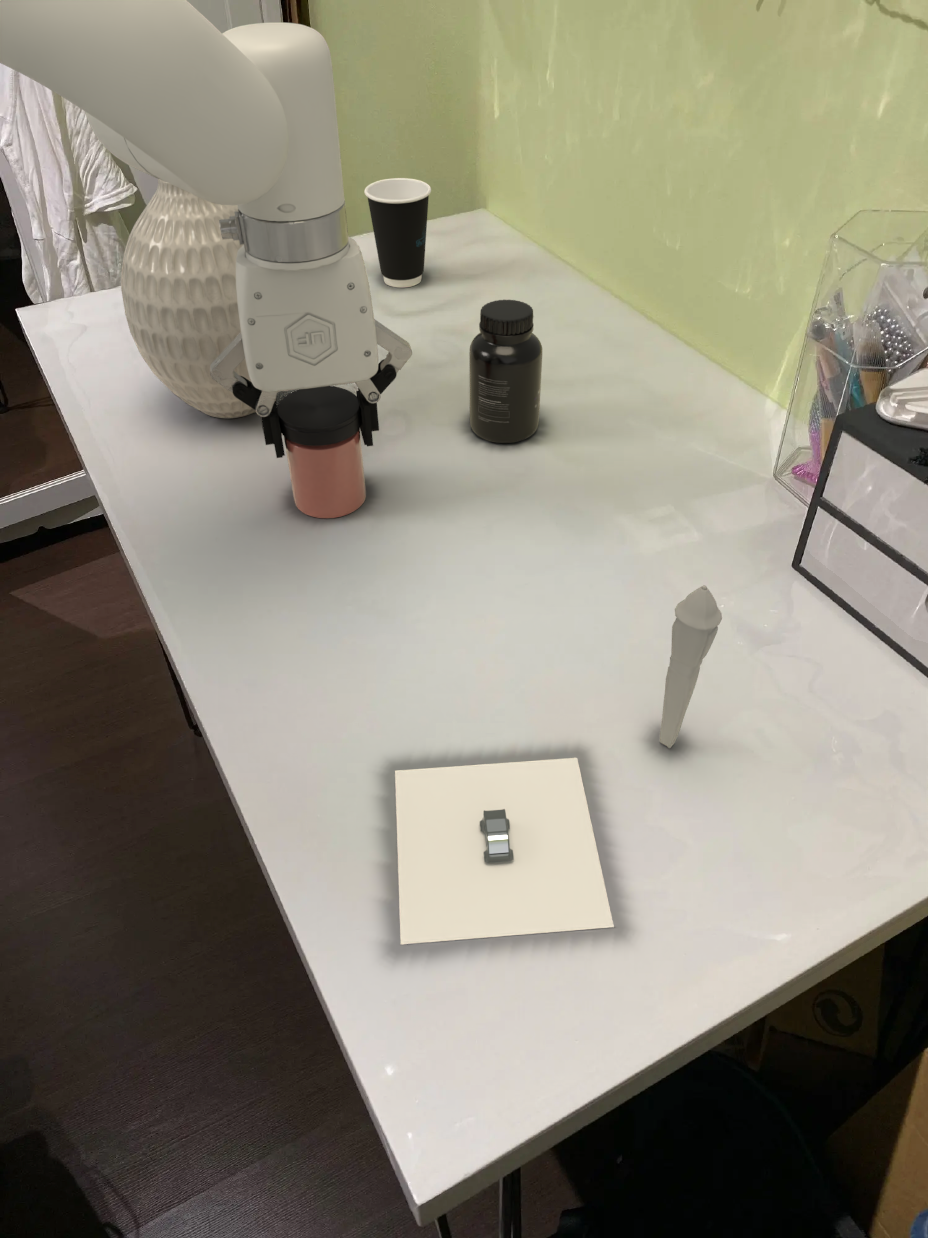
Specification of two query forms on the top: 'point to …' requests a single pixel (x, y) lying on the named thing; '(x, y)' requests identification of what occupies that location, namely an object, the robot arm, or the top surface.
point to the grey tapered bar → (687, 657)
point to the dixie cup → (399, 228)
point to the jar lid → (319, 415)
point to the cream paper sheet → (496, 852)
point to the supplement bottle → (505, 373)
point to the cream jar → (327, 477)
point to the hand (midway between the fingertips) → (323, 441)
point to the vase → (184, 296)
